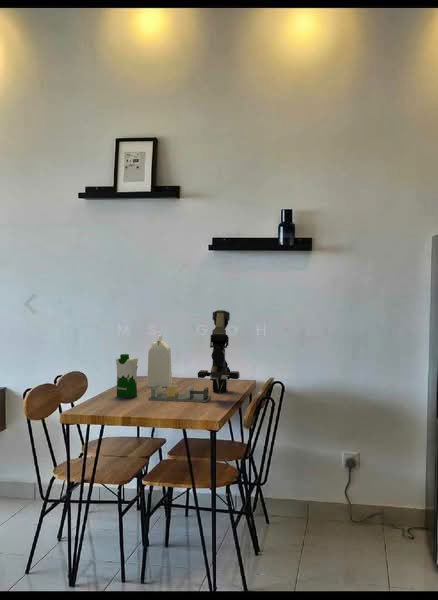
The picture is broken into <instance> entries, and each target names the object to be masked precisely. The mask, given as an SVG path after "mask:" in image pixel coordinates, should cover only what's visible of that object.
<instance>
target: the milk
mask: <svg viewBox="0 0 438 600" xmlns="http://www.w3.org/2000/svg"><path fill="white" fill-rule="evenodd" d="M171 352H172V351H171V347H170V346H169V345H168V343H166V342H165V341H164V340H163V334H158V335H157V341H154V342H153V343H152V344H151V347H150V348H149V349H148V353H147V354H148V356H147V376H146V377H147V380H146V382H147V383H146V387H148V388H149V387H150V388H153V387H155V386H156V385H161V386H162V388H168V386H169V385H170V384H173V380H172V353H171Z"/></svg>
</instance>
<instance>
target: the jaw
mask: <svg viewBox="0 0 438 600" xmlns="http://www.w3.org/2000/svg"><path fill="white" fill-rule="evenodd" d="M184 392H185V393H184V394H185V398H187V399H190V398H191V397H192V396H193V395H203V398H207V397H208V395H209V386H207V387H205V388H203V390H195V386H194V385H189V386H188V387H187V388H186V389H185V391H184Z"/></svg>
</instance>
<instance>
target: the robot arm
mask: <svg viewBox="0 0 438 600" xmlns="http://www.w3.org/2000/svg"><path fill="white" fill-rule="evenodd" d="M230 317H231V314H230V312H229V311H226V310H224V309H222V310H221V309H220V310H219V309H217V310H215V311H213V312H212V321H213V324H214V325H215V326H214V327H215V328H213V330H211V332H212V333H211V334H210V343H209V344H210V345H209V347H210V349H211V348H212V352H211V356H210V357H211V360H212V365H211V369H210V372H209V370H204V369H203V370H202V369H201V370H199V371H198V372H197V379H205V378H206V377H210V379H209V380H210V381H212V393H213V392H214V393H217V394H220V393H227V392H228V391H229V389H228V381H229V380H239V379H240V374H241V373H240V371H238V370H237V371H234V370H231V369H230V367H229V364H228V362H227V360H226V349H227V348H228V347H229V339H230V338H229V335H228V334H227V329H226V328H227V327H228V325H229V322H230Z"/></svg>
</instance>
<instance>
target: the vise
mask: <svg viewBox="0 0 438 600" xmlns="http://www.w3.org/2000/svg"><path fill="white" fill-rule="evenodd" d="M167 393H168V392H167ZM167 393H164V392H163V387H162V386H161V385H156V386H155V387H151V389H150V396H149V397H147V398H148V401H166V402H168V401H169V402H189V403H207V402H208V401H209V400H210V399H211V398H212V394H208V397H207V398H203V394H194V395H193V396H192V397H191V398H190V399H187V398H185V393H178V396H176V397H175V398H168V397H167Z"/></svg>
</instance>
